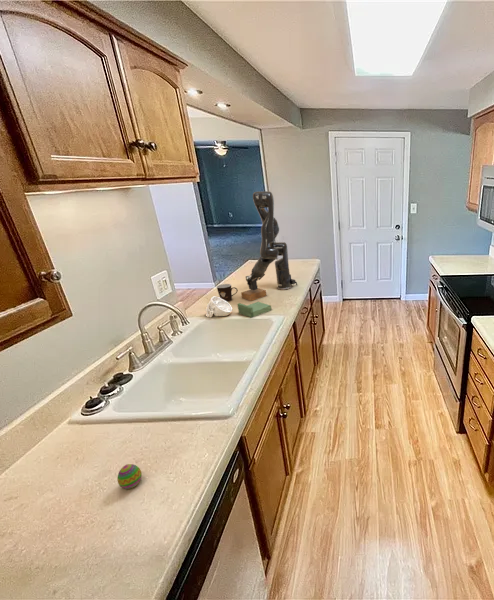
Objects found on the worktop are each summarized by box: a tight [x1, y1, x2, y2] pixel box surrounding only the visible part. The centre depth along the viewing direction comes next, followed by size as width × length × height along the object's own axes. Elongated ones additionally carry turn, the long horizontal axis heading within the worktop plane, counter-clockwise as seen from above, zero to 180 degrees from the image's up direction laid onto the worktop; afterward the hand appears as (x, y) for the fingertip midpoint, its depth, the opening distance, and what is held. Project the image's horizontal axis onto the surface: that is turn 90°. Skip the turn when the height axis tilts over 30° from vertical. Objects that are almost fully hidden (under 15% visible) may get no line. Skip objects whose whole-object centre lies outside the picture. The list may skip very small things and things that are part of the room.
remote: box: [247, 275, 259, 290], centre depth 218 cm, size 3×5×9 cm, turn 56°
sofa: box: [236, 301, 272, 318], centre depth 196 cm, size 14×12×6 cm
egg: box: [117, 463, 143, 490], centre depth 85 cm, size 5×5×6 cm
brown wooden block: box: [240, 287, 267, 302], centre depth 221 cm, size 12×10×4 cm
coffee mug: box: [216, 283, 238, 303], centre depth 213 cm, size 12×9×10 cm
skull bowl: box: [204, 295, 234, 318], centre depth 191 cm, size 10×14×12 cm
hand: (250, 283), depth 219 cm, fingers closed on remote, 3 cm apart
